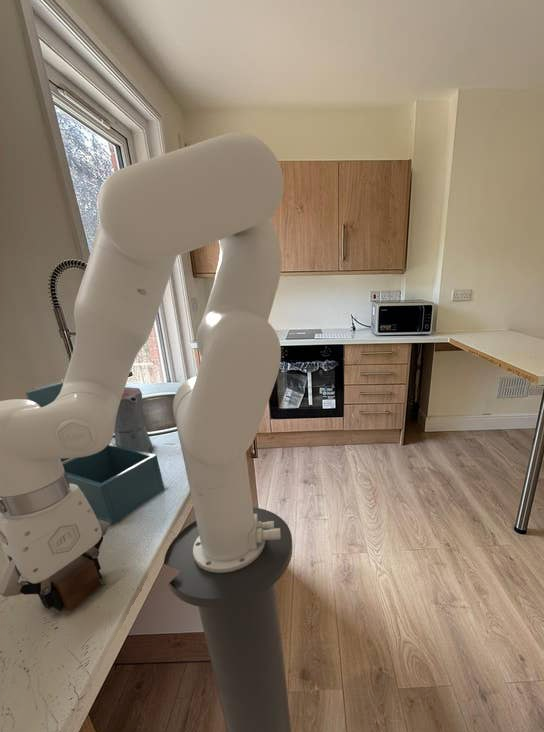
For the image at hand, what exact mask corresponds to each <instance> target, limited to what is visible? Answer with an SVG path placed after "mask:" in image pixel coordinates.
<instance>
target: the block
mask: <svg viewBox="0 0 544 732" xmlns="http://www.w3.org/2000/svg"><path fill="white" fill-rule="evenodd" d="M51 586H53V587H55V588H56V589H57V591H58V593H59V595H60V597H61V600H62V602H63V604H64V609H65V610H67V611H69V612H71V611H72V610H74V609H75V608H76V607H77V606H78V605H80V604H82V602H83V601H85V600H86V599H87V598H88V597H90V596H91V595H92V594H93V593H95V592H96V591H97V590H98V589H99V588H100V587H102V586H103V584H102V580H101V579H100V577H99V575H98V572H97V569H96V567H95V564H94V561H92V560H90V559H88V558H86V557H84V556H81V555H80V556H79V557H78V558H76V559H75V560H73V561H72V562H71V563H69V564H68V565H66V566H65V567H63V568H62V569H61V570H59V571H58V572H56V573H55V574H53V575H52V576H51Z"/></svg>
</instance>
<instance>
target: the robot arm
mask: <svg viewBox="0 0 544 732" xmlns="http://www.w3.org/2000/svg"><path fill="white" fill-rule="evenodd" d="M284 181H285V180H284V175H283V170H282V167H281V163H280V162H279V160H278V158H277V156H276V155H275V152H273V150H272V149H271V148H270V147H269V146H268V145H267V144H266V143H265V142H264V141H262V140H261V139H259V138H258V137H256V136H254V135H252V134H248V133H245V132H229V133H224V134H221V135H217V136H214V137H211V138H208V139H205V140H201V141H199V142H196V143H194V144H191V145H187V146H185V147H181V148H179V149H176V150H172V151H169V152H167V153H163V154H159V155H157V156H154V157H151V158H148V159H145V160H141V161H138V162H135V163H133V164H130V165H127V166H124V167H122V168H119V169H117V170H116V171H115V172H113V173H111V174H110V175H109V176H107V177H106V178H105V180H104V181H103V182H102V184H101V186H100V188H99V190H98V192H97V200H96V208H97V209H96V210H97V215H98V219H99V221H98V224H97V225H98V226H97V229H96V232H95V235H94V239H93V242H92V247H91V250H90V253H89V257H88V260H87V263H86V266H85V270H84V274H83V277H82V279H81V282H80V286H79V289H78V292H77V295H76V299H75V301H74V306H73V307H74V308H73V318H74V325H75V340H74V345H73V349H72V353H71V356H70V360H69V363H68V368H67V370H66V373H65V376H64V379H65V380H64V379H63V380H64V383H63V386H62V388H61V391H60V393H59V395H58V396H57V398H56V399H55V400H54V402H52V403H50V404H48V405H46V406H44V407H40V406H39V405H38V404H37V403H36V402H34V401H31V400H28V399H27V398H26V399H23V398H15V399H5V400H0V544H1V547H2V550H3V553H4V556H5V558H6V561H7V564H8V565H7V569H6V570H5V573H4V575H3V578H2V580H1V583H0V595H1V596H2V597H4V598H7V597H13V596H14V597H15V596H19V595H25V596H27V595H38V598H39V599H40V602H41V604H42V605H43V607H44V608H46V609H47V610H50V609H51V608H53V609H54V610H56V611H58V612H61V611H63V610H64V609H65V608H64V604H63V602H62V600H61V597H60V595H59V593H58V591H57V589H56V588H55V587H53V586H51V576H52V575H53V574H55V573H56V572H58V571H59V570H61V569H62V568H63V567H65V566H66V565H68V564H69V563H71V562H72V561H73V560H75V559H76V558H78V557H79V556H80V555H81V556H84V557H86V558H88V559H90V560H92V561H94V564H95V567H96V569H97V572H98V575H99V577H100V580H101V579H102V578H103V576H102V574H101V571H100V570H101V569H102V567H101V564H100V562H99V558H98V557H99V556H100V547H101V545H102V543H103V541H104V536H105V535H106V534H107V532H108V530H109V528H110V527H111V524H110V523H109V522H106V521H103V520H100V519H97V518H96V516H95V514H94V512H93V510H92V508H91V506H90V504H89V502H88V501H87V499H86V497H85V496H84V494H83V493H82V491H81V490H80V488H79V487H78V486H77V485H75V484H71V483H69V481H68V478H67V475H66V473H65V470H64V467H63V464H62V463H63V462H61V458H70V459H73V458H79V457H86V456H90V455H93V454H96V453H98V452H100V451H102V450H103V449H104V448H106V447H107V445H108V444H109V443H110V444H111V442H112V440H113V438H114V436H115V435H114V431H115V430H114V429H115V424H116V416H117V412H118V408H119V404H120V401H121V398H122V395H123V392H124V389H125V387H127V382H128V379H129V377H130V374H131V371H132V368H133V365H134V363H135V361H136V359H137V356H138V354H139V353H140V351H141V349H142V348H143V347H144V346H145V344H146V343H147V342H148V340H149V338H150V335H151V334H152V332H153V328H154V325H155V322H156V319H157V316H158V314H159V310H160V307H161V304H162V302H163V299H164V296H165V292H166V290H167V287H168V283H169V280H170V278H171V275H172V273H173V269H174V266H175V264H176V261H177V257H178V256H181V255H183V254H186V253H189V252H192V251H194V250H198V249H200V248H202V247H205V246H208V245H211V244H213V243H216V242H218V245H219V259H218V264H217V269H216V271H215V276H214V281H213V285H212V288H211V291H210V294H209V298H208V301H207V304H206V307H205V310H204V313H203V316H202V319H201V322H200V323H199V326H198V329H197V333H196V348H197V350H198V353H199V356H200V357H201V361H200V364H199V367H198V370H197V374H196V375H195V376H193V377H190V378H189V379H187V380H185V381H184V382H182V383H181V385H180V386H179V387H178V388H177V390H176V393H175V394H174V398H173V403H172V412H173V419H174V422H175V427H176V430H177V435H178V440H179V444H180V449H181V452H182V453H181V454H182V458H183V461H184V462H183V463H184V467H185V472H186V477H187V482H188V487H189V492H190V497H191V501H192V507H193V511H194V516H195V521H197V526H198V531H199V537H198V538H197V539H196V541H195V543H194V546H193V556H194V560H195V561H196V563H197V564H198V566H199V567H201V568H202V569H204V570H206V571H209V572H214V573H226V572H232V571H235V570H238V569H241V568H243V567H245V566H247V565H248V564H250V563H252V562H253V561H254V560H255V559H256V558H257V557H258V556H259V555H260V554H261V552H262V550H263V548H264V545H265V540H280V539H281V533H280V528H276V529H274V521H270V522H262V523H261V521H258V517H257V514H253V507H254V506H253V499H252V493H251V484H250V476H249V465H248V457H247V451H248V450H249V448H251V446H252V444H253V442H254V440H255V439H256V437H257V433H258V431H259V429H260V426H261V423H262V420H263V418H264V415H265V412H266V410H267V407H268V405H269V404H268V403H269V401H270V398H271V396H272V392H273V391H274V390H273V389H274V387H275V384H276V381H277V378H278V375H279V373H280V372H279V371H280V368H281V359H282V348H281V342H280V338H279V336H278V333H277V332H276V329H274V326H272V324H271V323H269V318H270V315H271V313H272V309H273V305H274V301H275V297H276V294H277V291H278V288H279V284H280V279H281V273H282V252H281V251H282V250H281V246H280V242H279V238H278V235H277V231H276V229H275V226H274V224H273V221H272V219H271V218H273V216H274V215H275V213H276V212H277V211H278V209H279V208H280V205H281V203H282V200H283V196H284V190H285V189H284V188H285V183H284ZM263 529H270V530H263ZM21 577H22V578H23V579H24V580H23V581H20V578H21Z"/></svg>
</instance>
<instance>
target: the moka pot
mask: <svg viewBox="0 0 544 732" xmlns="http://www.w3.org/2000/svg"><path fill="white" fill-rule="evenodd" d="M144 419H145V415H144V404H143V392H142V391H141V388H139V387H129V386H125V389H124V392H123V395H122V398H121V401H120V404H119V408H118V412H117V416H116V424H115V429H114V435H113V436H114V441H115V442H114V443H115V444H114V445H118V446H122V447H126V448H130V449H135V450H139V451H143V452H147V453H152V452H153V449H154V446H153V444H152V443H153V442H152V441H151V438H150V436H149V433H148V431H147V429H146V426H145V421H144Z"/></svg>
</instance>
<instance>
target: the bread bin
mask: <svg viewBox="0 0 544 732" xmlns="http://www.w3.org/2000/svg"><path fill="white" fill-rule="evenodd" d="M62 464H63V467H64V470H65V473H66V475H67V478H68V481H69V483H71V484H75V485H77V486H78V487H79V488H80V490H81V491H82V493H83V494H84V496H85V497H86V499H87V501H88V502H89V504H90V506H91V508H92V510H93V512H94V514H95V516H96V518H97V519H100V520H103V521H106V522H109V523H110V525H111V526H113V525H115V524H116V523H118V522H120V521H121V520H123V519H124V518H126V517H127V516H128V515H130V514H131V513H133V512H134V511H135V510H137V509H138V508H141V506H143V505H144V504H146V503H147V502H149V501H150V500H151V499H153V498H155V497H156V496H157V495H159V494H160V493H162V492H163V491H165V485H164V481H163V477H162V473H161V468H160V465H159V464H160V463H159V459H158V455H157V454H155V453H152V452H150V453H147V452H143V451H139V450H135V449H130V448H126V447H122V446H118V445H115V444H114V443H111V442H110V443H109V444H108V445H107V447H106V448H104V449H103V450H102V451H100V452H98V453H96V454H93V455H90V456H86V457H79V458H70V459H68V460H66V461H64V462H62Z"/></svg>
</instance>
